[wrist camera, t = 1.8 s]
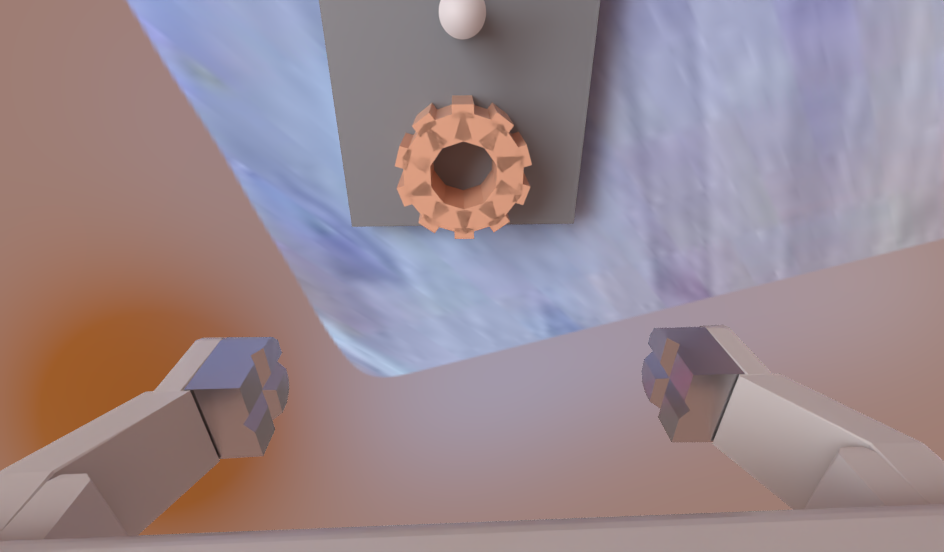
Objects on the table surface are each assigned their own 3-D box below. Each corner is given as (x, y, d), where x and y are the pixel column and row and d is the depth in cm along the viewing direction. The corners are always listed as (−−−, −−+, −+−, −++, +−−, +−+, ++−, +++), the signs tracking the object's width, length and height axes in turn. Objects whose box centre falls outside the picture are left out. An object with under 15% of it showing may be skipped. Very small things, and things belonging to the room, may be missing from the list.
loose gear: (526, 94, 22) (536, 103, 20) (519, 216, 26) (527, 237, 23) (397, 95, 22) (389, 104, 20) (406, 217, 25) (401, 239, 23)
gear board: (625, -329, 17) (710, -507, 11) (565, 211, 28) (594, 258, 22) (283, -336, 17) (194, -524, 11) (358, 214, 27) (333, 262, 22)
